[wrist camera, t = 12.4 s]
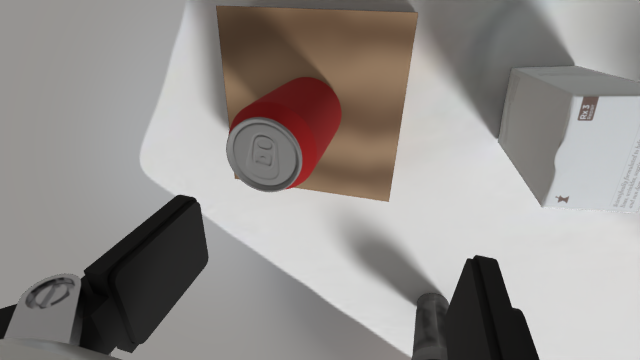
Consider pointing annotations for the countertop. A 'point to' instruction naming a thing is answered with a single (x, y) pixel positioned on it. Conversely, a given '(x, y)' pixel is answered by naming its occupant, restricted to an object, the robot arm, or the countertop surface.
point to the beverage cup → (430, 328)
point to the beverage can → (283, 134)
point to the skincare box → (574, 137)
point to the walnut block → (328, 81)
